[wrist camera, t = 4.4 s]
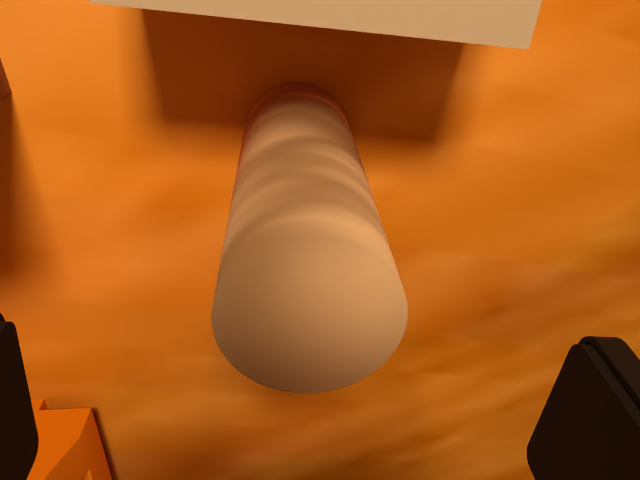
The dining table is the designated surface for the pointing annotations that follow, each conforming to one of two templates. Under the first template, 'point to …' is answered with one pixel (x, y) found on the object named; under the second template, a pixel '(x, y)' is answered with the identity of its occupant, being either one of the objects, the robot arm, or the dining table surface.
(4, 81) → the walnut square bit
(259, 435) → the dining table surface
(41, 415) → the bracket
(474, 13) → the bore block
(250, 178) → the birch dowel
